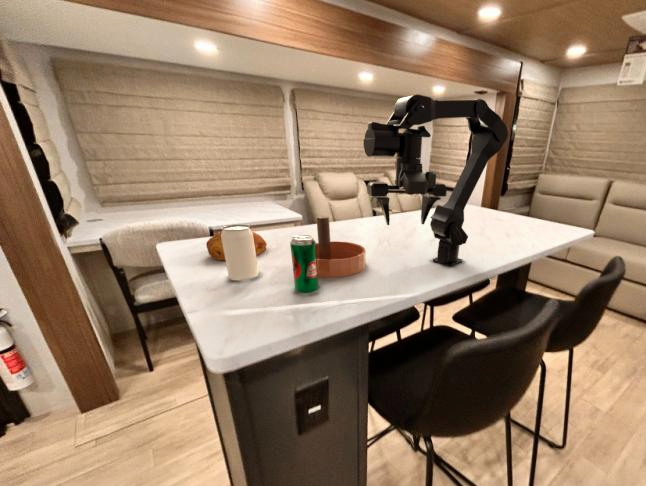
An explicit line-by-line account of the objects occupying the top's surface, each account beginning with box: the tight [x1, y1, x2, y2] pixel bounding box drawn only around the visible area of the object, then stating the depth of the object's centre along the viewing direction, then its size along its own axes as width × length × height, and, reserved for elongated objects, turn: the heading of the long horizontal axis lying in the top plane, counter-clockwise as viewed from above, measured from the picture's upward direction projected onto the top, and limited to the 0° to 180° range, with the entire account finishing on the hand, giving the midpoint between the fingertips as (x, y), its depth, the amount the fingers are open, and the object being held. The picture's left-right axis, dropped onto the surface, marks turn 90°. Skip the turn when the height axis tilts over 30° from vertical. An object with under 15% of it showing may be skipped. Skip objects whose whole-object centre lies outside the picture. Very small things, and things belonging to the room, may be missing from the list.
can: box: [221, 224, 260, 282], centre depth 71 cm, size 6×6×12 cm
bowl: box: [316, 240, 367, 279], centre depth 80 cm, size 16×16×5 cm
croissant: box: [206, 231, 267, 261], centre depth 88 cm, size 14×16×8 cm
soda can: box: [289, 234, 320, 294], centre depth 66 cm, size 5×5×12 cm
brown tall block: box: [316, 215, 331, 260], centre depth 78 cm, size 4×3×13 cm
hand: (405, 224), depth 78 cm, fingers open, 9 cm apart
